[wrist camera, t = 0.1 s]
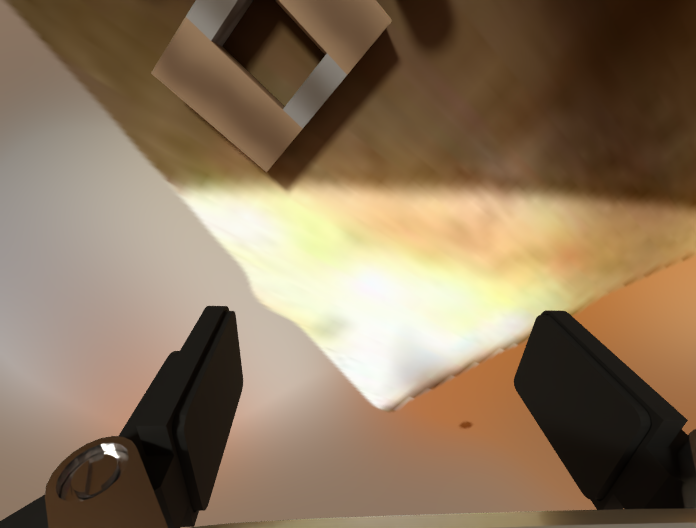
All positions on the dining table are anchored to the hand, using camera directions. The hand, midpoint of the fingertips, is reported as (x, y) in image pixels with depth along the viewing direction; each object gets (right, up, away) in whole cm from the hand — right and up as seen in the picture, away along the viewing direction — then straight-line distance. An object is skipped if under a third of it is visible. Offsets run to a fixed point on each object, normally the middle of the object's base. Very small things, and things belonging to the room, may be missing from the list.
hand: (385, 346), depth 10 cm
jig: (-8, +24, +23) cm, 34 cm away
